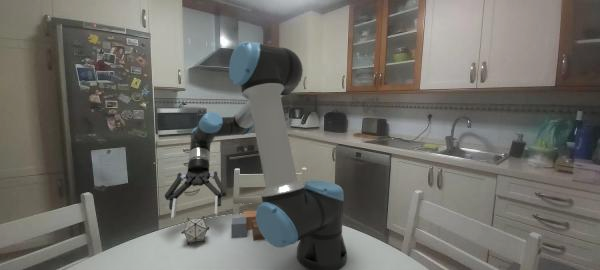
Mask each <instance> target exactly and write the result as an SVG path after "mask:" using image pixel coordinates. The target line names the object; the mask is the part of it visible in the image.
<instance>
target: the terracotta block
mask: <svg viewBox="0 0 600 270" xmlns="http://www.w3.org/2000/svg"><path fill="white" fill-rule="evenodd" d="M256 212H257V210H245V211H243V213H242V217H246V231H248V230H249V231H251V230H252V220H256Z"/></svg>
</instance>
